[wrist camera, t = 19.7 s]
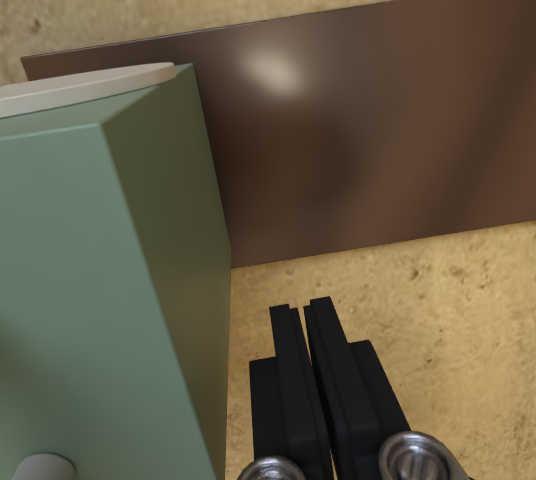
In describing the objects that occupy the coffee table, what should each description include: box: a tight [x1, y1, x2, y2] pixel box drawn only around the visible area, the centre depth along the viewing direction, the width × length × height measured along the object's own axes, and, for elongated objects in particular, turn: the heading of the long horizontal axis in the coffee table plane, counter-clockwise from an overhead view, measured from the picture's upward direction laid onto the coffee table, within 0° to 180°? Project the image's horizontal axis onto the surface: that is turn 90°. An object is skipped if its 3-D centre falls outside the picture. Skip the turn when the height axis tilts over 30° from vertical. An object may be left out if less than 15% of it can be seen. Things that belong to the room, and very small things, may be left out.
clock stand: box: [21, 0, 536, 269], centre depth 17 cm, size 22×10×1 cm, turn 98°
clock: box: [0, 62, 231, 480], centre depth 9 cm, size 6×8×15 cm
